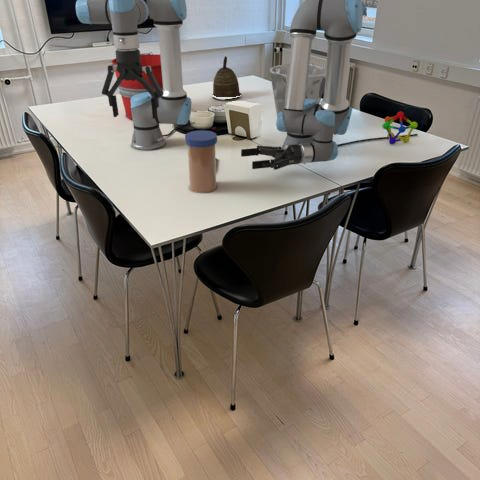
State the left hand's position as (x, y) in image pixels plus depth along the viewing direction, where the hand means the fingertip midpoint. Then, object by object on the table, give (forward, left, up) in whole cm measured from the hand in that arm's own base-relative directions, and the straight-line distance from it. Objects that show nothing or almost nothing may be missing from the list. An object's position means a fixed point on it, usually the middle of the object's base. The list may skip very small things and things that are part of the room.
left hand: (135, 116), depth 150 cm
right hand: (-12, +37, -18) cm, 43 cm away
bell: (-140, +10, -28) cm, 143 cm away
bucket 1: (-96, -27, -28) cm, 104 cm away
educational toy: (-67, +102, -28) cm, 125 cm away
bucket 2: (-88, +55, -28) cm, 107 cm away
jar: (-7, +21, -28) cm, 36 cm away
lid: (-7, +21, -8) cm, 23 cm away
